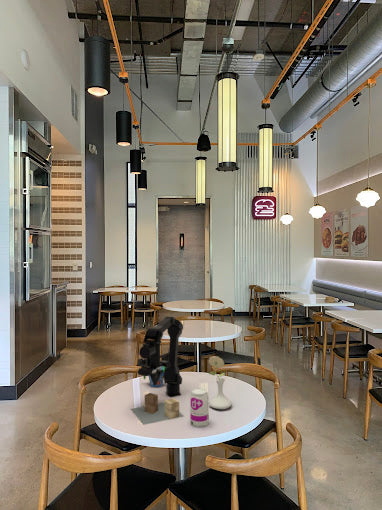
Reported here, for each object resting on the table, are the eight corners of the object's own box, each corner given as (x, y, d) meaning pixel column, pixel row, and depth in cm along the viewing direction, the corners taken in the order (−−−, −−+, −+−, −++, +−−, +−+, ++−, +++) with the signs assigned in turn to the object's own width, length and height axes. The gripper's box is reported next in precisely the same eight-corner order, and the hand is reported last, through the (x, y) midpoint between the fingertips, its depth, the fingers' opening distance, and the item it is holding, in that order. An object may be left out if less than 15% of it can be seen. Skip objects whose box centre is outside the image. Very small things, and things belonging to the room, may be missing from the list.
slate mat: (168, 402, 197) (168, 401, 197) (184, 417, 179) (184, 416, 179) (130, 410, 188) (130, 408, 188) (143, 426, 170) (143, 424, 170)
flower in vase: (236, 406, 191) (235, 356, 191) (222, 413, 183) (222, 361, 183) (216, 400, 200) (215, 352, 200) (201, 406, 192) (201, 356, 192)
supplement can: (203, 430, 165) (202, 395, 166) (186, 426, 170) (186, 392, 170) (212, 423, 172) (211, 389, 172) (196, 419, 177) (196, 386, 177)
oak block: (173, 412, 183) (173, 398, 183) (179, 416, 179) (179, 401, 179) (164, 415, 180) (164, 400, 180) (170, 419, 176) (170, 403, 176)
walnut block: (150, 409, 188) (150, 392, 188) (158, 411, 185) (157, 394, 185) (144, 411, 184) (144, 395, 184) (152, 414, 182) (152, 397, 182)
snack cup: (140, 386, 222) (140, 369, 222) (148, 381, 232) (148, 364, 232) (164, 390, 216) (164, 372, 216) (172, 384, 226) (172, 366, 226)
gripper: (154, 347, 201) (154, 377, 201) (129, 355, 186) (129, 387, 186) (171, 350, 195) (171, 381, 195) (146, 358, 179) (147, 392, 179)
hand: (154, 385), depth 189 cm, fingers closed
